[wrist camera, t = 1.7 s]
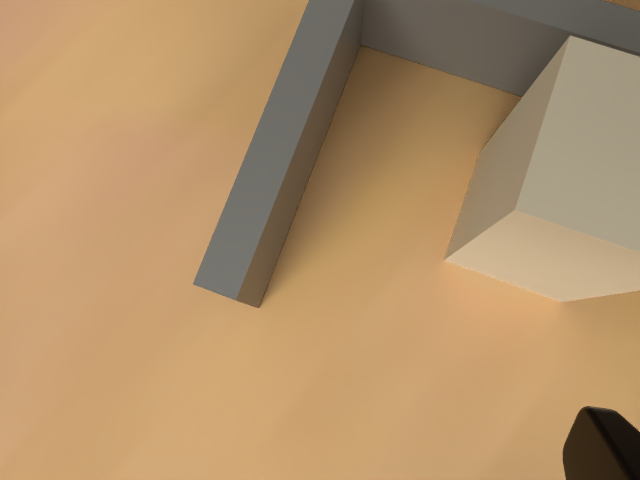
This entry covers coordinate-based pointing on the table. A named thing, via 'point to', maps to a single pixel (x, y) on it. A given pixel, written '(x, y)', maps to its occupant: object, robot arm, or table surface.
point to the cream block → (561, 182)
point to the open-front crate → (330, 78)
